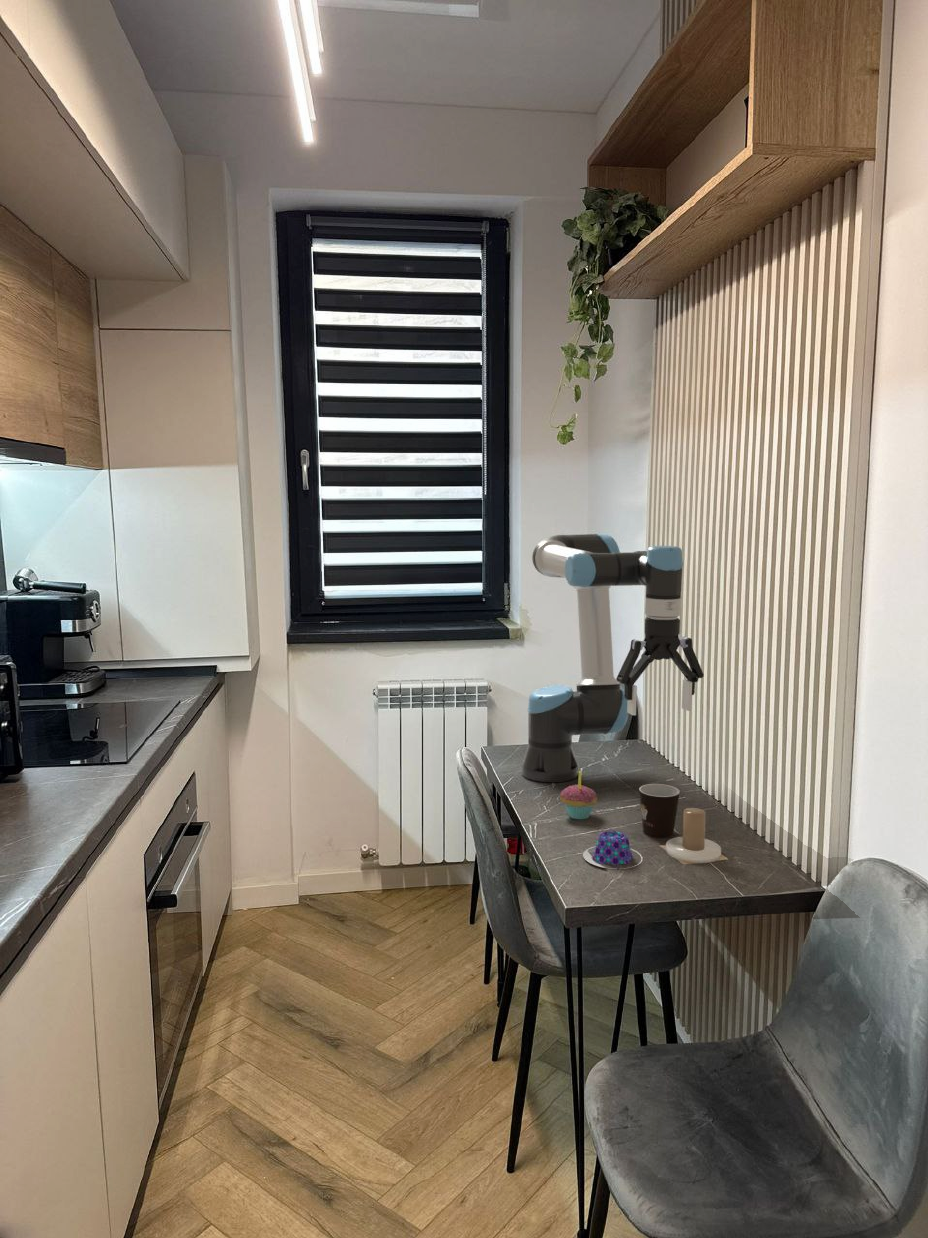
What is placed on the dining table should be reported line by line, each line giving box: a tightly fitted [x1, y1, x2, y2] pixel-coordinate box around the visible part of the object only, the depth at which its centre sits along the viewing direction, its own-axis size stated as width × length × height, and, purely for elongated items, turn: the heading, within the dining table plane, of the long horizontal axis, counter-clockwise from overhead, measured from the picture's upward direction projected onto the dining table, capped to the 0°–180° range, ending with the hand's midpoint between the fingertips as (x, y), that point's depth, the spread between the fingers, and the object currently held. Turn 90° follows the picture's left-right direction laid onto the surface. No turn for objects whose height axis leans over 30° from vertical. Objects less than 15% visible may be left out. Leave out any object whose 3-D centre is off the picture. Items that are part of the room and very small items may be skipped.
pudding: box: [582, 830, 643, 870], centre depth 172 cm, size 12×12×5 cm
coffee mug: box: [638, 783, 681, 839], centre depth 185 cm, size 12×9×10 cm
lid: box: [665, 807, 722, 864], centre depth 173 cm, size 11×11×9 cm
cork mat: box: [659, 844, 729, 866], centre depth 174 cm, size 10×10×1 cm
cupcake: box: [559, 768, 598, 820], centre depth 195 cm, size 9×8×12 cm
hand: (659, 711), depth 187 cm, fingers open, 13 cm apart
